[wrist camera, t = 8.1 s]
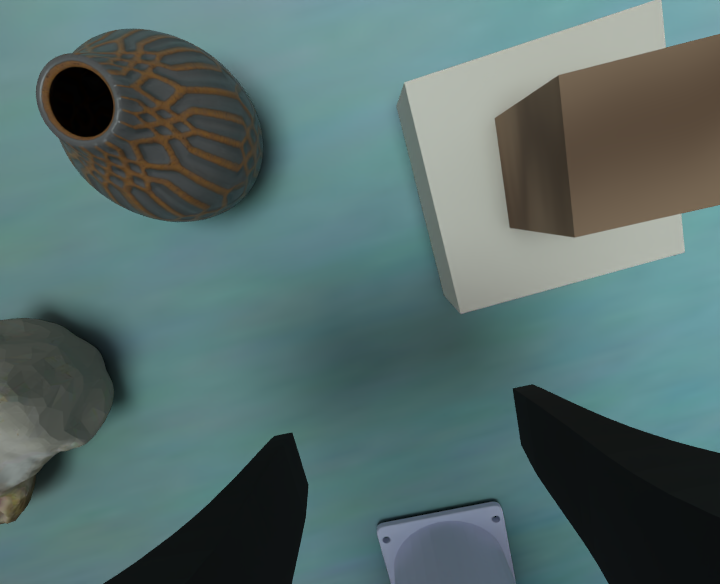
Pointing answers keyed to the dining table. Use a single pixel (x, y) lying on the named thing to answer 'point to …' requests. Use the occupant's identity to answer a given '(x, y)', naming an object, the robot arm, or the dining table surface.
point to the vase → (153, 124)
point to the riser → (484, 173)
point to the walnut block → (615, 143)
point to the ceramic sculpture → (44, 402)
